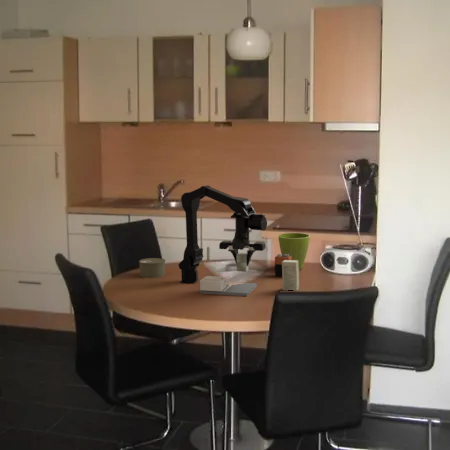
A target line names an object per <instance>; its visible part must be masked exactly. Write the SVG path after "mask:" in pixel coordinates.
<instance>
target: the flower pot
mask: <svg viewBox="0 0 450 450" xmlns="http://www.w3.org/2000/svg"><path fill="white" fill-rule="evenodd" d="M277 237H278V244H279V249H280V254H281V255H284V254H289V256H291V257H292V260H298V264H299V271H300V270H302V269H303V265H304V264H305V260H306V258H307V254H308V250H309V244H310V239H311V235H310V234H307V233H303V232H286V233H281V234H278V235H277Z"/></svg>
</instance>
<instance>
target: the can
mask: <svg viewBox="0 0 450 450" xmlns="http://www.w3.org/2000/svg"><path fill="white" fill-rule="evenodd" d="M138 263H139V264H138V265H139V276H140V277H142V278H146V279H147V278H148V279H152V278H162V277H164V276H166V259H165V258H160V257H148V258H142V259H140V260H139V261H138Z"/></svg>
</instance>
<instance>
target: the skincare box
mask: <svg viewBox="0 0 450 450" xmlns="http://www.w3.org/2000/svg"><path fill="white" fill-rule="evenodd" d="M299 272H300V270H299V264H298V260H284V261H283V262H282V277H281V278H282V291H288V290H293V291H292V292H297V291H298V290H299V289H300V273H299Z"/></svg>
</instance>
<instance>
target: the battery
mask: <svg viewBox="0 0 450 450" xmlns="http://www.w3.org/2000/svg"><path fill="white" fill-rule="evenodd" d="M284 260H292V257H291V256H289V254H284V255H282V254H281V253H277V255H276V256H274V277H278V278H279V277H281V278H282V262H283V261H284Z"/></svg>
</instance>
